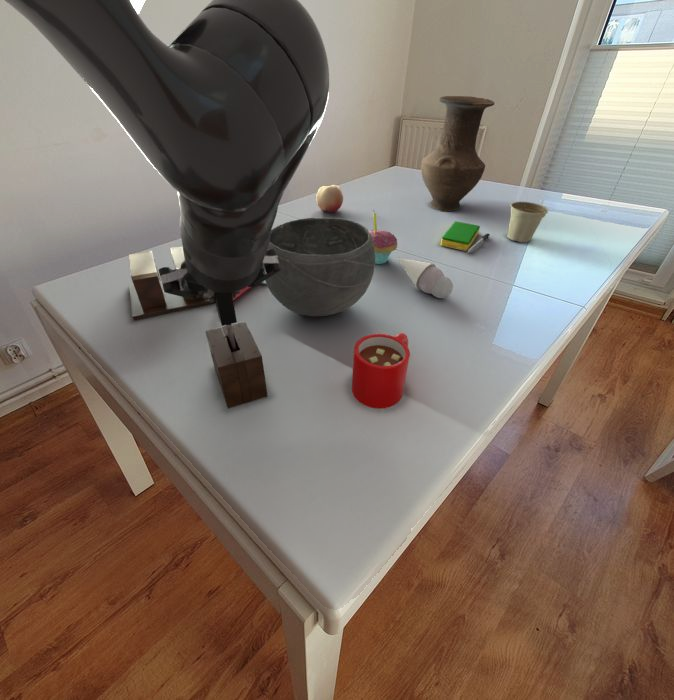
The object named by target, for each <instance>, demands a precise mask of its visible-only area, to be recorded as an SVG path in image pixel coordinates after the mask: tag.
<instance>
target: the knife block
mask: <svg viewBox="0 0 674 700" xmlns="http://www.w3.org/2000/svg"><path fill="white" fill-rule="evenodd" d="M231 325H232V330H233V335H234V341H235V346H236V351H235V352H231V348H230V343H229V338H228V333H227V328H226V325H224V326H221V327H216V328H212V329H207V330H205V336H206V340H207V344H208V347H209V352H210V356H211V360H212V364H213V368H214V372H215V374H216V378H217V380H218V383H219V387H220V389H221V393H222V397H223V399H224V403H225V405H226V409H228V410H229V409H232V408H235V407H239V406H241V405H244V404H248V403H251V402H255V401H258V400H262V399H264V398H268V390H267V389H268V388H267V382H266V375H265V367H264V360H263V355H262V353H261V351H260V348H259V347H258V344H257V343H256V341H255V338H254V336H253V335H252V332H251V330H250V328H249V326H248V325H247V322H246V321H242V322H237V323H233V324H231Z"/></svg>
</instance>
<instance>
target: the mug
mask: <svg viewBox="0 0 674 700" xmlns="http://www.w3.org/2000/svg"><path fill="white" fill-rule="evenodd" d="M410 356H411V353H410V348H409V337H408V335H407V334H405V333H404V332H400V333H397V334H395V335H394V336H393V335H390V334H385V333H372V334H369V335H365V336H362V337H361V338H360V339H358V340H357V341H356V343H355V344H354V347H353V360H352V361H353V362H352V375H351V376H352V377H351V393H352V395H353V397H354V399H355V400H356V401H357V402H358V403H360V404H361V405H363V406H365V407H368V408H372V409H379V410H381V409H382V410H383V409H387V408H391V407H393V406H395V405H397V404H399V402H400V401H401V399H402V398H403V395H404V388H405V384H406V377H407V372H408V368H409V362H410Z"/></svg>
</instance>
